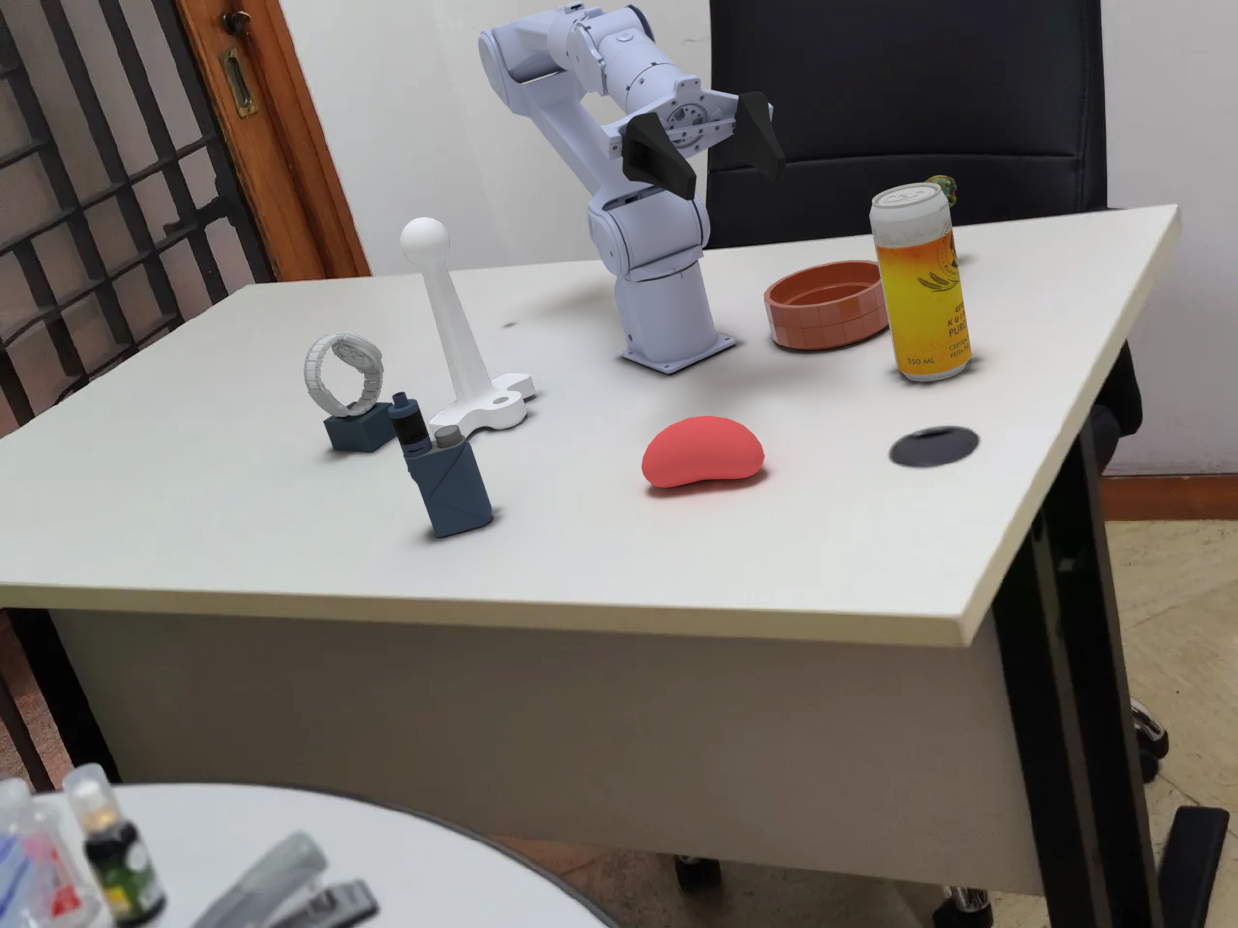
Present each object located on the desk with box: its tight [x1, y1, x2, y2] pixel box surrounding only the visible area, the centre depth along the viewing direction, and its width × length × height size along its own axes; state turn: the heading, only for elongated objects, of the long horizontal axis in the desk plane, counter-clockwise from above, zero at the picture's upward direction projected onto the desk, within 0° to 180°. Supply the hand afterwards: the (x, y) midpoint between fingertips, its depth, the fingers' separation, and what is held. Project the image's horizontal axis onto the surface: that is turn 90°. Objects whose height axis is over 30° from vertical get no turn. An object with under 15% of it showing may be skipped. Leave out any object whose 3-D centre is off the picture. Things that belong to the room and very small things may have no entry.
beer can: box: [868, 182, 973, 382], centre depth 104 cm, size 6×6×15 cm
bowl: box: [763, 259, 889, 351], centre depth 120 cm, size 12×12×4 cm
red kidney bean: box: [640, 415, 766, 489], centre depth 98 cm, size 5×9×6 cm, turn 65°
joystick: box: [399, 216, 537, 441], centre depth 118 cm, size 11×8×20 cm
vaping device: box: [388, 391, 493, 538], centre depth 100 cm, size 3×5×12 cm, turn 95°
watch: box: [303, 330, 397, 453], centre depth 124 cm, size 6×8×11 cm
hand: (736, 179), depth 97 cm, fingers open, 7 cm apart
